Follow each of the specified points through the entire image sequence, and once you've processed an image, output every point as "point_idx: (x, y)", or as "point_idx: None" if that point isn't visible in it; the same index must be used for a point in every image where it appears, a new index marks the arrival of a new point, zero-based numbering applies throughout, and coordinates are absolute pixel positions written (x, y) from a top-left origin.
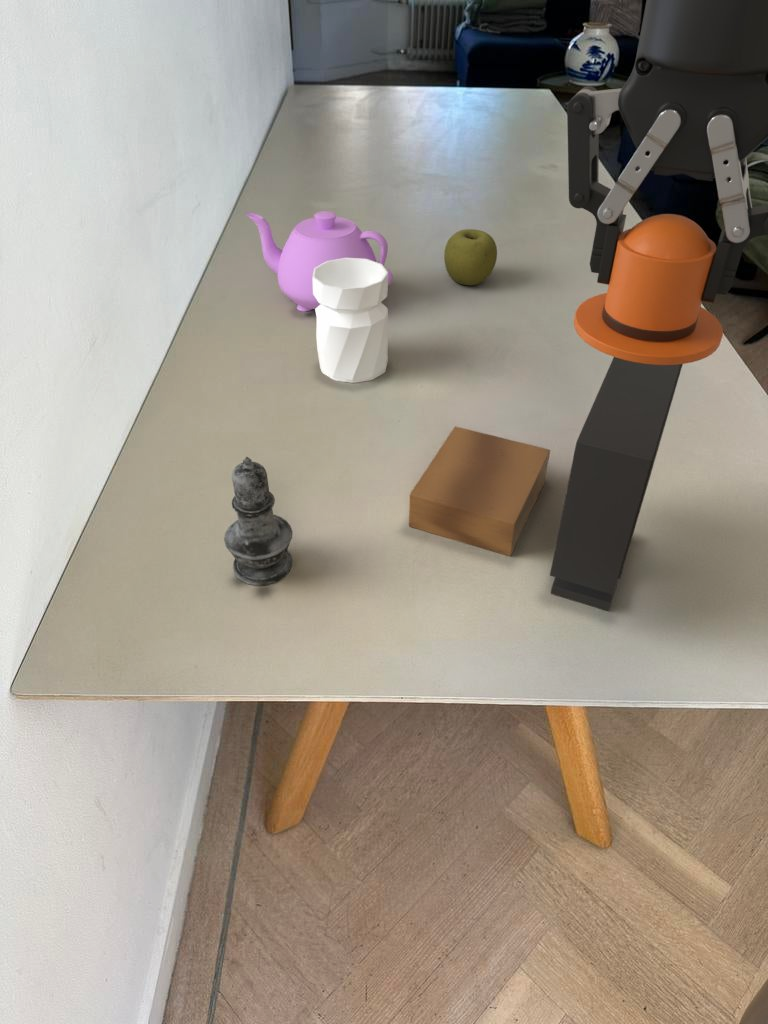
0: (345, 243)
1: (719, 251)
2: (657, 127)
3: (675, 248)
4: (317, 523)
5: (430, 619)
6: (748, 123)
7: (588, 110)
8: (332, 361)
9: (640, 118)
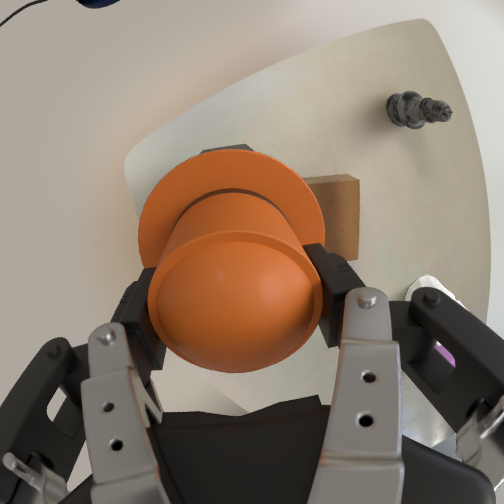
0: (451, 355)
1: (136, 310)
2: (381, 495)
3: (199, 268)
4: (392, 152)
5: (301, 108)
6: None
7: None
8: (433, 281)
9: (428, 486)
